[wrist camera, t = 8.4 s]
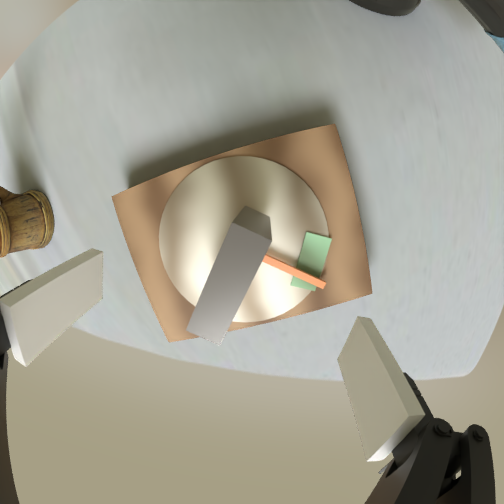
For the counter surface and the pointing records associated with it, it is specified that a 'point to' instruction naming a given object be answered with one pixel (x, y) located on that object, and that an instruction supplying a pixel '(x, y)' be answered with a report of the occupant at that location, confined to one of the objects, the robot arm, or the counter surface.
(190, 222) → the board
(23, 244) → the wooden mug
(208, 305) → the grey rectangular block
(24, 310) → the robot arm
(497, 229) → the counter surface
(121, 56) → the counter surface
